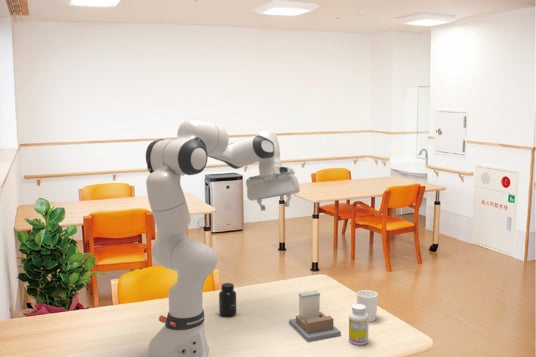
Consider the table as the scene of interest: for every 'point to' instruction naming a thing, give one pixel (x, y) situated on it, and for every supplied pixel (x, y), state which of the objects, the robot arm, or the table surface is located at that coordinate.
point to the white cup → (368, 302)
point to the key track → (314, 335)
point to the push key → (309, 305)
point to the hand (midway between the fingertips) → (275, 208)
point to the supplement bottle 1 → (227, 300)
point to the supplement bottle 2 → (358, 325)
